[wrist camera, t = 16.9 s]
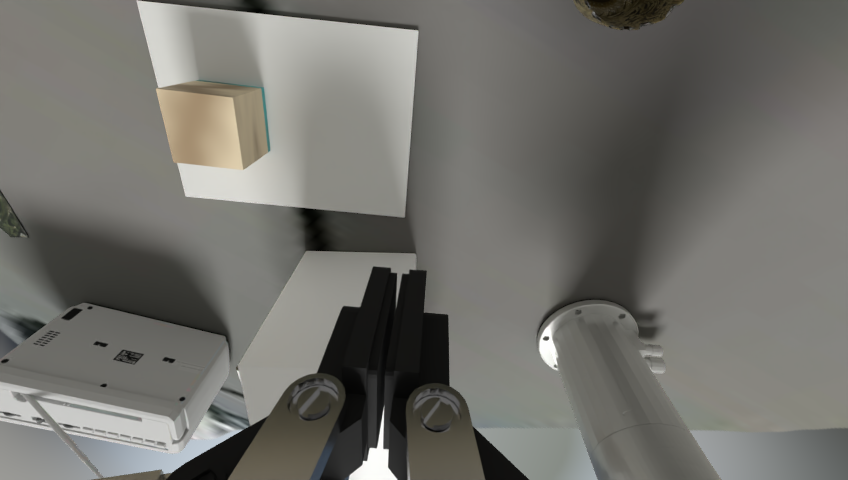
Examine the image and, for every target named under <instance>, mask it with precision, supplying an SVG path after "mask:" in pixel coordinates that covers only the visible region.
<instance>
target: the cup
mask: <svg viewBox="0 0 848 480" xmlns="http://www.w3.org/2000/svg"><path fill="white" fill-rule="evenodd" d="M683 1H684V0H573V2H574V3H575V5H576V7H577V9H578V10H579V11H580V12H581V13H582V14H583V15H584V16H585V17H586V18H588V19H590V20H591V21H593V22H596V23H598V24H601V25H604V26H607V27H610V28H613V29H619V30H623V29H628V30H638V29H640V27H642V26H645V25H651V24H654V23H657V22H659V21H662V20H663V19H665V18H666V17H667V16H668V15H669V13H670V12H671V11H672V10H673V8H674V7H676V6H679V5H680V4H681V3H682V2H683Z"/></svg>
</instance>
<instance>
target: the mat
mask: <svg viewBox="0 0 848 480" xmlns="http://www.w3.org/2000/svg"><path fill="white" fill-rule="evenodd" d="M137 4H138V8H139V12H140V16H141V20H142V24H143V28H144V32H145V36H146V40H147V44H148V48H149V52H150V56H151V60H152V64H153V68H154V72H155V76H156V80H157V84H158V88H161V87H166V86H171V85H176V84H181V83H186V82H191V81H196V80H205V81H213V82H222V83H230V84H238V85H247V86H255V87H264V92H265V102H266V111H267V121H268V131H269V140H270V150H271V151H269V152H268V153H267V154H265V155H264V156H262V157H261V158H260V159H258V160H257V161H255V162H254V163H253V164H251V165H250V166H248V167H247V168H246V169H244V170H237V169H228V168H219V167H211V166H202V165H193V164H184V163H178V167H179V171H180V175H181V179H182V183H183V187H184V191H185V195H186V196H187V197H197V198H208V199H218V200H228V201H238V202H249V203H259V204H269V205H280V206H290V207H300V208H311V209H321V210H331V211H342V212H352V213H362V214H373V215H383V216H393V217H403V218H405V208H406V194H407V180H408V167H409V153H410V140H411V126H412V113H413V99H414V86H415V72H416V59H417V45H418V32H419V31H418V30H408V29H399V28H390V27H380V26H371V25H361V24H352V23H343V22H333V21H324V20H315V19H305V18H296V17H287V16H277V15H268V14H259V13H249V12H240V11H230V10H221V9H212V8H202V7H193V6H184V5H174V4H165V3H156V2H146V1H137Z"/></svg>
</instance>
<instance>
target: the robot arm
mask: <svg viewBox="0 0 848 480" xmlns="http://www.w3.org/2000/svg"><path fill="white" fill-rule="evenodd" d="M426 272H427V271H423V270H411V269H410V270H409V274H404V273H402V278H401V283H400V289H399V294H398V300H397V306H396V292H397V273H392V272H391V268H387V267H375V266H373V268H372V271H371V274H370V278H369V281H368V284H367V287H366V290H365V293H364V297H363V300H362V303H361V306H360V307H352V306H343V307H342V309H341V311H340V314H339V316H338V319H337V321H336V324H335V327H334V329H333V332H332V335H331V337H330V340H329V342H328V345H327V348H326V350H325V353H324V355H323V358H322V361H321V363H320V366H319V368H318V371H317V373H315V374H309V375H306V376H303V377H301V378H299V379H297V380H296V381H294V382H293V383H292V384H290V385H289V387H288V388H287V389H286V390H285V391H284V393H283V394H282V396H281V397H280V399H279V401H278V402H277V404H276V405H275V407H274V408H273V410H272V411H271V413H270V414H269V416H267V417H265V418H263V419H262V420H260V421H258V422H256V423H255V424H253V425H251V426H250V427H248V428H246V429H244V430H243V431H241V432H239V433H237V434H236V435H234V436H232V437H230V438H229V439H227V440H225V441H224V442H222V443H220V444H218V445H216V446H215V447H213V448H211V449H210V450H208V451H206V452H204V453H202V454H201V455H199V456H197V457H195V458H194V459H192V460H190V461H189V462H187V463H185V464H184V465H182V466H181V467H179V468H178V469H177V470H175V471H174V472H172V473H168V474H163V471H162V470H155V471H149V472H141V473H134V474H128V475H121V476H114V477H107V478H100V479H93V480H349V476H350V474H352V473H353V472H354V471H356V470H357V469H358V468H359V467H361V466H362V464H363V461H367V459H368V454H369V448H377V446H378V440H379V434H380V428H381V422H382V415H383V409H384V431H383V449H388V450H389V453H388V468H389V469H390V471H391V472H392V473H393V475H394V476H395V477H396V478H397V480H529V479H528V478H527V477H526V476H524V474H523V473H521V472H520V471H519V470H518V469H517V468H516V467H515V466H514V465H513V464H512V463H511V462H510V461H509V460H508V459H507V458H506V457H505V456H504V455H503V454H501V453H500V452H499V451H498V450H497V449H496V448H495V447H494V446H493V445H492V444H491V443H490V442H489V441H487V440H486V438H485V437H483V436H482V435H481V434H480V433H479V432H478V431H477V430H476V429H475V428H474V427H473V426H472V422H471V417H470V413H469V409H468V406H467V403H466V401H465V399H464V398H463V397H462V395H461V394H460V393H459V392H458V391H456V390H455V389H453V388H452V387H450V386H449V333H448V315H446V314H434V313H424V299H425V286H426ZM638 333H639V330H638V326H637V323H636V321H635V320H634V318H633V317H632V315H631V314H630V313H629V311H627V310H626V309H625V308H624V307H622V306H620V305H618V304H616V303H613V302H609V301H605V300H586V301H581V302H576V303H573V304H570V305H567V306H565V307H563V308H561V309H559V310H558V311H556V312H555V313H554V314H552V315H551V316H550V317H549V318H548V319H547V320H546V321H545V322H544V324H543V325H542V327H541V328H540V331H539V333H538V337H537V346H538V350H539V353H540V356H541V357H542V359H543V361H544V362H545V363H546V364H547V365H548V366H550V367H551V368H553V369H555V370H557V371H559V374H560V377H561V379H562V382H563V385H564V388H565V390H566V393H567V396H568V399H569V402H570V404H571V407H572V410H573V413H574V416H575V418H576V421H577V424H578V427H579V430H580V432H581V435H582V438H583V441H584V443H585V446H586V448H587V452H588V455H589V457H590V460H591V463H592V465H593V468H594V471H595V474H596V476H597V479H598V480H721V478H720V477H719V475H718V474H717V472H716V471H715V470H714V468H713V466H712V465H711V464H710V462H709V461H708V459H707V458H706V456H705V454H704V453H703V451H702V450H701V448H700V446H699V445H698V443H697V442H696V440H695V439H694V437H693V436H692V434H691V433H690V431H689V429H688V428H687V426H686V425H685V423H684V421H683V420H682V418H681V417H680V415H679V413H678V412H677V410H676V409H675V407H674V406H673V404H672V402H671V401H670V399H669V398H668V396H667V395H666V393H665V391H664V390H663V388H662V387H661V385H660V383H659V382H658V380H657V379H656V377H655V376H654V374H653V373H664V372H665V369H666V365H665V362H664V360H663V359H662V358H655V357H644V356H645V355H649V356H662V355H663V348H662V347H661V346H660V345H644V344H643V343H642V342H641V341H640V339H639V338H638Z"/></svg>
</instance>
